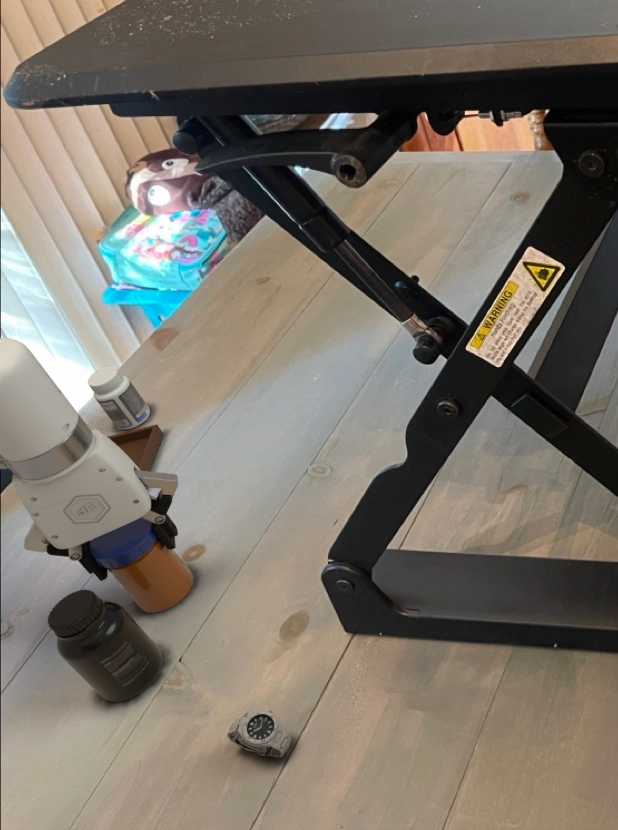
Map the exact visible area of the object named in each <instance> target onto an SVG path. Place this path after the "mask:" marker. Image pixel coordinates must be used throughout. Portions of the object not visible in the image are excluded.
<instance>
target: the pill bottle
mask: <svg viewBox="0 0 618 830" xmlns="http://www.w3.org/2000/svg"><path fill="white" fill-rule="evenodd" d="M87 385H88V386H89V388H90V389H91V390H92V391H93V398H94V399H95V400H96V402H97V403H98V405H99V406H100V407H101V409H102V410H103V412H105V413H106V415H107V416H108V418H109V419H110V420H111V422H112V423H113V424H114V426H115V427H116V428H117V429H119V430H121V431H127V430H128V431H129V430H133V429H135V428H136V427H138V426H140V425H142V424H143V423H144V422H146V421H147V419H148V418H149V417H150V414H151V409H150V407H149V405H148V404H147V403H146V401H145V400H144V398H143V397H142V396H141V394H140V392H139V391H138V389H136V387H135V386H134V384H133V383H132V381H131V380H130V379H129V377H127V376H125V375H123V374H122V372H121V371H120V370H119V368H118V367H116V366H114V365H108V366H104V367H101V368H99V369H97V370H95V371H94V372H93V373H92V374H91V375H90V376H89V378H88V379H87Z"/></svg>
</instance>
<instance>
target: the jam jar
mask: <svg viewBox="0 0 618 830" xmlns="http://www.w3.org/2000/svg"><path fill="white" fill-rule="evenodd" d="M107 569H108V572H109V573H110V574H111V575H112V576H113V577H114V579H115V580H116V581H117V582H118V584H119V585H120V586H121V587H122V588H123V590H125V592H126V593H127V594H128V595H129V596H130V597H131V599H132V600H133V601H134V602H135V604H136V605H137V606H138V607H139V608H140V609H141V611H143V612H145V613H148V614H149V613H150V614H156V613H161V612H164V611H167V610H170V609H171V608H173V607H175V606H176V605H177V604H179V603H180V602H181V601H182V600H183V599H184V598H185V597H186V596H187V595H188V593H189V592H190V591H191V588H192V587H193V584H194V575H193V573H192V571H191V570H190V569H189V567H188V566H187V564H186V563H185V562H184V561H183V559H182V558H181V557H180V556H179V554H178V553H177V552H176V550H175V548H174V549H172V550H170V549H169V550H168V549H167V548H166V546H165V545H164V544H163V543H162V541H161V540H160V539H159V537H157V540H156V541H155V543H154V544H153V546H152V547H151V548H150V549H149V550H148V551H147V552H146V553H145V554H144V555H143V556H141V557H140V558H138V559H137V560H135V561H133V562H132V563H130V564H127V565H125V566H121V567H117V568H107Z"/></svg>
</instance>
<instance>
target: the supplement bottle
mask: <svg viewBox="0 0 618 830" xmlns="http://www.w3.org/2000/svg"><path fill="white" fill-rule="evenodd" d="M47 617H48V618H47V625H48V627H49V628H50V630H51V631H52V632H53V633H54V635H55V636H56V650H57V652H58V654H59V656H61V658H62V659H63V660H64V661H65V662H66V663H67V664H68V665H69V666H70V667H71V668H72V669H73V670H74V671H75V672H76V673H77V674H78V675H79V676H80V677H81V678H82V679H83V680H84V681H85V682H86V683H87V684H88V685H89V686H90V687H91V688H92V689H93V690H94V691H95V692H96V693H97V694H98V695H99V696H100V697H101V698H102V699H104V700H106V701H108V702H124V701H127V700H129V699H133V698H134V697H135V696H138V695H139V694H141V693H143V691H145V690H146V689H147V688H148V687H149V686H150V685H152V683H153V682H154V681H155V680H156V679H157V677H158V675H159V674H160V671H161V669H162V667H163V658H164V657H163V653H162V651H161V649H160V648H159V646H158V645H157V644H156V643H155V642H154V640H152V638H151V637H150V636H149V635H148V634H147V633H146V632H145V630H144V629H143V628H142V627H141V626H140V625H139V624H138V623H137V622H136V620H135V619H134V618H133V617H132V616H131V615H130V613H128V611H127V610H126V609H125V608H124V607H123V606H122V605H120V604H119V603H117V602H114V601H110V600H103V599H101V598H100V597H99V596H98V595H97V594H96V593H95V592H94V591H92V590H90V589H87V588H86V589H80V590H76V591H73V592H71V593H69V594H67V595H66V596H63V597H62V599H60V600H59V601H58V602H57V603H56V604H55V605H54V606H53V607H52V608H51V610H50V611H49V613H48V615H47Z"/></svg>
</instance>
